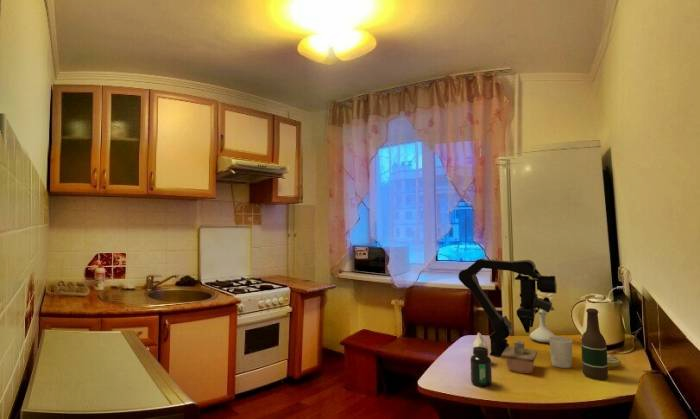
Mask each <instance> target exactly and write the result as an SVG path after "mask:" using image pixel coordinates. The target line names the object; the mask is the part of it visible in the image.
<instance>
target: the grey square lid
mask: <svg viewBox="0 0 700 419" xmlns="http://www.w3.org/2000/svg"><path fill="white" fill-rule="evenodd" d="M537 356H538V350H535V349H526V348H525V341H522V340H515V341H514V343H513V346H510V345H509V346H507V347H506V349H505V350H504V351H503V353H502V354H501V357H500V358H505V359H506V358H509V359H515V360H521V361H526V362H532V363H533V362H534V361H535V359H536V358H537Z"/></svg>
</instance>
